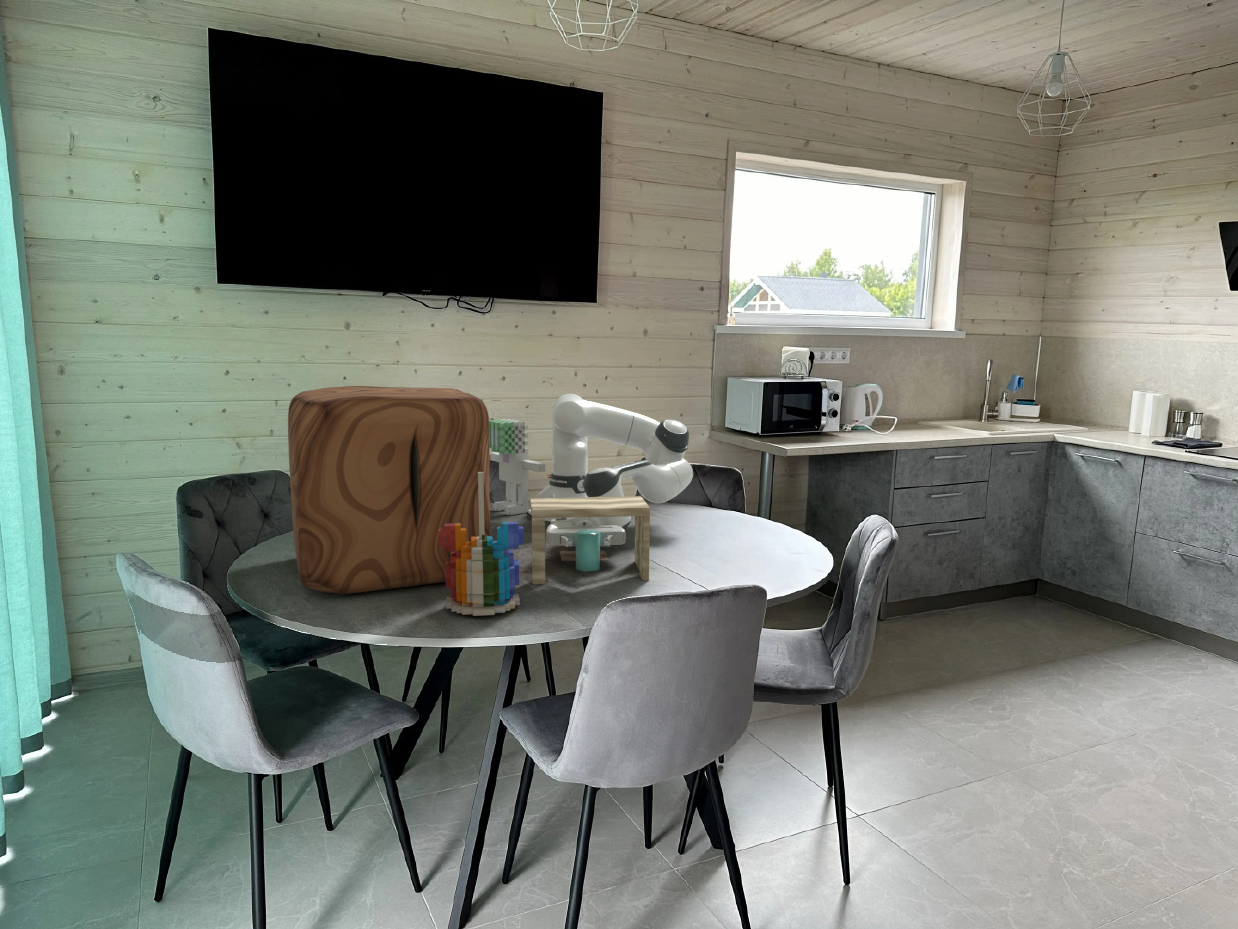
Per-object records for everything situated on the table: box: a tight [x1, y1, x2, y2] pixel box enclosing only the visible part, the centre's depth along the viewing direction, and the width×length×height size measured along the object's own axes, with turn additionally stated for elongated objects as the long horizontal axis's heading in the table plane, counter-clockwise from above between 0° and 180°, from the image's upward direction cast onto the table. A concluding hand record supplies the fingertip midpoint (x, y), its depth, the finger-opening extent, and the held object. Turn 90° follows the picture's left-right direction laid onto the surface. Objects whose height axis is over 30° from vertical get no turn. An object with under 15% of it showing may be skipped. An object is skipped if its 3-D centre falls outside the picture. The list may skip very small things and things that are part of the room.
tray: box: [559, 549, 609, 562], centre depth 231 cm, size 10×12×1 cm
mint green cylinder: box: [575, 530, 601, 572], centre depth 218 cm, size 6×6×10 cm
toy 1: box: [439, 472, 525, 617], centre depth 188 cm, size 18×16×30 cm
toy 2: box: [489, 418, 546, 516], centre depth 285 cm, size 30×10×30 cm, turn 39°
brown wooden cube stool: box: [287, 385, 491, 595], centre depth 216 cm, size 45×45×45 cm
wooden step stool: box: [529, 495, 651, 585], centre depth 215 cm, size 14×28×18 cm, turn 97°
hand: (588, 543), depth 217 cm, fingers open, 8 cm apart
